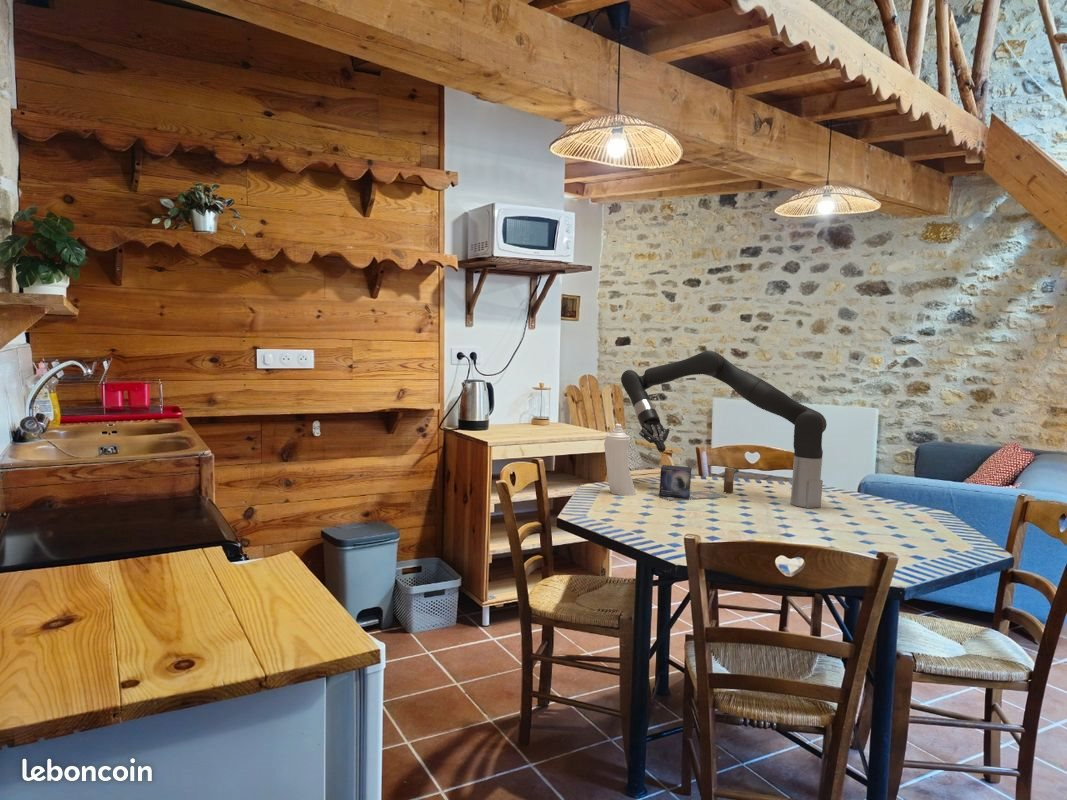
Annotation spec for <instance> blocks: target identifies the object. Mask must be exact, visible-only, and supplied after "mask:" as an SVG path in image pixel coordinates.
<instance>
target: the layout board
mask: <svg viewBox="0 0 1067 800" xmlns="http://www.w3.org/2000/svg"><path fill="white" fill-rule="evenodd" d="M653 496H656V497H658V496H659V493H653ZM720 497H724V498H728V496H727V495H724V494H721V493H718V492H716V491H712V490H701V491H699V490H695V491H690V496H689V499H690V500H691V499H692V500H705V499H707V498H708V499H721V498H720ZM659 498H662V499H663V498H664V500H665V501H668V500H669V501H668V502H671V501H672V502H674V501H673V500H677V501H689V499H683V498H675V497H666V496H659Z"/></svg>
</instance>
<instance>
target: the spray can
mask: <svg viewBox="0 0 1067 800" xmlns="http://www.w3.org/2000/svg"><path fill="white" fill-rule="evenodd" d="M604 439H605V440H604V442H603V443H604V444H603V445H604V447H603V448H604V454H605V462H606V463H605V464H606V465H605V466H606V472H607V473H606V474H607V482H608V487H609V489H610V493H611V494H614V495H617V496H618V495H619V496H625V497H627V496H635V495H637V493H636V488H635V485H634V481H633V478H632V475H631V471H630V466H629V458H630V456H629V455H630V454H629V452H630V444H631V443H630V442H631V436H630V435H628V434H626V433H625V431H624V429H623V427H622V424H621V423H615V426H614V429H612V432H610V433H609V434H608V433H607V434H606V435H605V438H604Z"/></svg>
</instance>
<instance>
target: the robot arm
mask: <svg viewBox="0 0 1067 800" xmlns="http://www.w3.org/2000/svg"><path fill="white" fill-rule="evenodd" d="M694 375H705V376H709V377H712V378H714V379H716V380H719V381H721V382H722V383H724V384H725V385H728V386H729V387H730V388H731V389H732V390H733V391H735V392H736V393H737V394H738V395H740V397H742V398H744V399H745V400H746V401H747V402H749V403H750V404H752V405H754V406H755V407H757V408H759V409H762V410H763V411H766V412H769V413H771V414H773V415H775V416H779V417H781V418H783V419H785V420H786V421H788V422H789V423H791V424H792V425H794V429H793V431H794V432H793V452H794V453H793V467H792V478H791V490H790V491H791V494H790V495H791V496H790V504H791V505H792V506H795V507H800V508H806V509H812V508H815V509H817V508H822V496H823V480H822V479H821V478H822V477H821V476H822V467H823V465H822V464H823V453H824V450H823V446H822V443H823V441H822V440H823V433H824V432H825V431H826V429H827V420H826V418H825V416H824V415H823V414H822V413H821V412H819V411H817V410H815V409H812V408H810V407H808V406H806V405H804V404H802V403H799V402H797V400H794V399H792V397H790V396H788V395H787V394H785V393H784V392H783V391H781V390H779V389H778V388H777V387H775V386H773V385H772V384H771V383H769V382H767V381H765V380H764V379H762V378H760V377H758V376H756V375H755V374H752V373H750V372H748V371H746V370H743V369H741V368H739V367H737V366H736V365H735V364H733V363H732V362H730V361H729V360H728V359H727V358H725V357H724V356H722V355H721V354H720V353H718V352H716V351H712V350H704V351H701V352H700V353H698V354H695V355H693V356H691V357H690V356H689V357H688V358H685V359H682V360H679V361H675V362H670V363H666V364H662V365H658V366H653V367H650V368H647V369H645V371H644V374H642V375H640V374H638V373H637V371H634V370H632V369H627V370H625V371H624V372H623V373H622V374H621V377H620V381H621V385H622V387H623V389H624V390H625V392H626V393H627V395H628V397H629V399H630V402H631V404H632V407H633V409H634V412H635V415H636V417H637V420H638V422H639V424H640V427H641V429H640V431H638V435H640V436H641V437H642V438H643V439H645V441H647V442H648V443H649V444H652V443H653V444H654V445H655V447H656V450H657V451H658V452H659V453H664V452H665V451H666V449H667V447H666V445H665V442H666V440H667V438H668V436H669V433H670V429H669V428H665V427H664V426H663V425H662V423H661V419H660V417H659V414H658V413H657V410H656V408H655V407H656V406H654V403H653V402H652V401H651V398H650V396H649V394H648V391H646V390H648V389H650V388H652V387H654V386H659V385H662V384H666V383H670V382H673V381H676V380H678V379H680V378H683V377H688V376H694Z"/></svg>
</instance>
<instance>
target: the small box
mask: <svg viewBox="0 0 1067 800" xmlns="http://www.w3.org/2000/svg"><path fill="white" fill-rule="evenodd" d="M692 469H693V468H692V467H690V466H681V465H679V466H678V465H677V466H676V465H669V464H662V465H661V467H660V476H659V477H660V479H659V492H658V494H659V496H666V497H675V498H683V499H689V496H690V492H691V482H692V481H691V480H692V479H691V478H692Z"/></svg>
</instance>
